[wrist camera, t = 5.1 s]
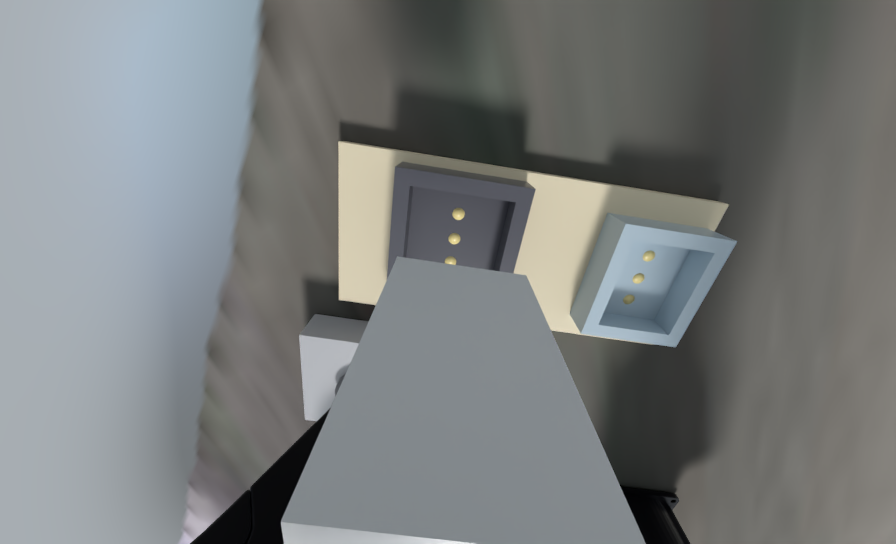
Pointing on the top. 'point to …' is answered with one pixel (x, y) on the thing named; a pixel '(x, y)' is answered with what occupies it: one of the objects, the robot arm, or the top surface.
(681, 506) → the top surface
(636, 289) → the header 3pin
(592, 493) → the plug
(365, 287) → the board
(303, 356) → the grey knob block
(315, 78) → the top surface
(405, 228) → the frame
